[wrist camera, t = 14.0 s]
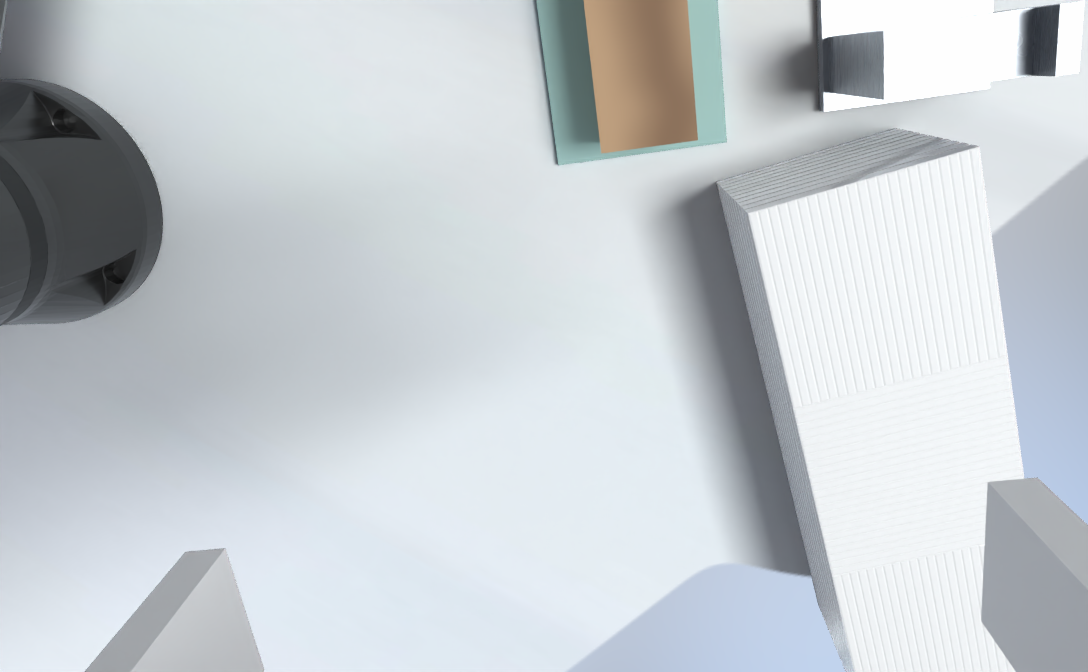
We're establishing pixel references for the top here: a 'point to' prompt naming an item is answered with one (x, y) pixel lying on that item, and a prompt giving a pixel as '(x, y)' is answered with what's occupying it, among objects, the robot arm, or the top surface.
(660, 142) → the rail
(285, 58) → the top surface
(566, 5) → the mat
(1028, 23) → the standards
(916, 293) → the stack of papers
